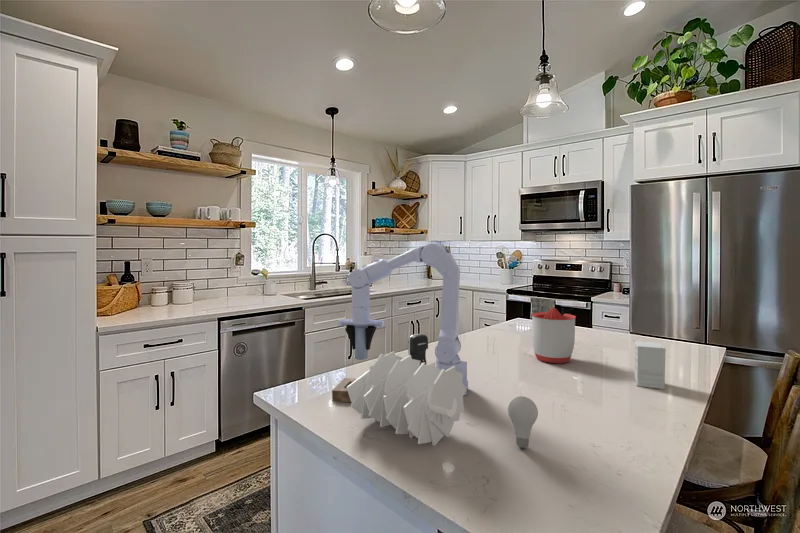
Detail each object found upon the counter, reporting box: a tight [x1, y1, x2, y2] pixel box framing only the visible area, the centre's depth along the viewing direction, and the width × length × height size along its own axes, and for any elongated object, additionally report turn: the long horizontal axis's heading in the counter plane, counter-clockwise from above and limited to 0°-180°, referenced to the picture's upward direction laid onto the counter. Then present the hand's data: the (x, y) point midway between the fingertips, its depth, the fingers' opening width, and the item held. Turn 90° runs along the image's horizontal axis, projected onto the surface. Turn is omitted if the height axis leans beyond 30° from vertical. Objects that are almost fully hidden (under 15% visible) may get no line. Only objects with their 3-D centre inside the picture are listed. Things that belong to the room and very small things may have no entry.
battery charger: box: [407, 333, 429, 365], centre depth 145 cm, size 7×4×11 cm, turn 125°
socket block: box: [331, 377, 357, 403], centre depth 117 cm, size 11×11×3 cm
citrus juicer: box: [531, 306, 577, 365], centre depth 153 cm, size 16×17×20 cm
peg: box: [354, 326, 369, 361], centre depth 129 cm, size 4×4×10 cm
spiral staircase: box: [347, 351, 466, 447], centre depth 94 cm, size 18×18×25 cm
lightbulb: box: [507, 395, 539, 449], centre depth 86 cm, size 6×6×11 cm
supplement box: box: [634, 340, 667, 390], centre depth 125 cm, size 7×7×13 cm
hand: (361, 348), depth 129 cm, fingers closed on peg, 4 cm apart
